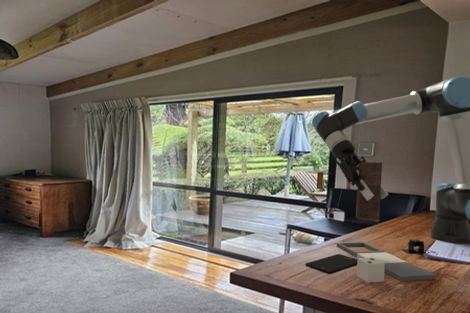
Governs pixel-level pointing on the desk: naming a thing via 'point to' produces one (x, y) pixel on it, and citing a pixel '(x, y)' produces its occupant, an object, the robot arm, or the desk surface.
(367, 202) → the candle
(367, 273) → the die
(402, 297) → the desk surface
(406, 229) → the desk surface
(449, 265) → the desk surface
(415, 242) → the black chunky piece
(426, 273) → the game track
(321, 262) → the cell phone
